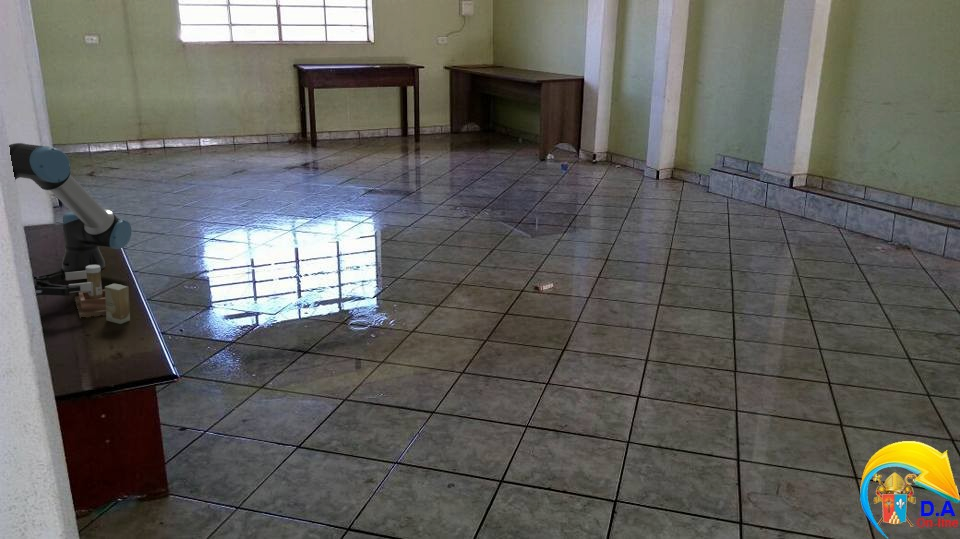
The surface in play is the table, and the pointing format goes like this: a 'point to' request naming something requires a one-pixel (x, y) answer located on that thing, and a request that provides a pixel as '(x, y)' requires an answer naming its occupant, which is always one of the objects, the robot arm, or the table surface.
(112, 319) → the skincare box
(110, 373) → the table surface
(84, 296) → the collar plate
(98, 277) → the sprinkles bottle
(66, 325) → the table surface
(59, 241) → the table surface
